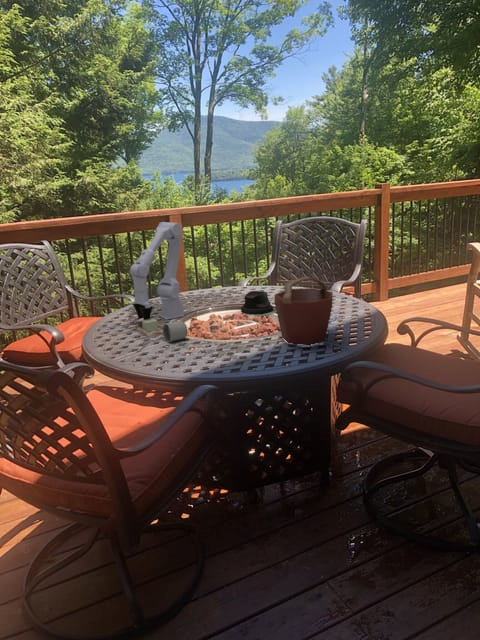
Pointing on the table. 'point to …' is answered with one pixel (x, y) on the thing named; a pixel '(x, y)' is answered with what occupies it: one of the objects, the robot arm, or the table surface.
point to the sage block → (150, 324)
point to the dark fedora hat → (257, 304)
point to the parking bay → (151, 333)
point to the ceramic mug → (174, 331)
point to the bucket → (304, 312)
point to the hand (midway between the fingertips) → (143, 320)
